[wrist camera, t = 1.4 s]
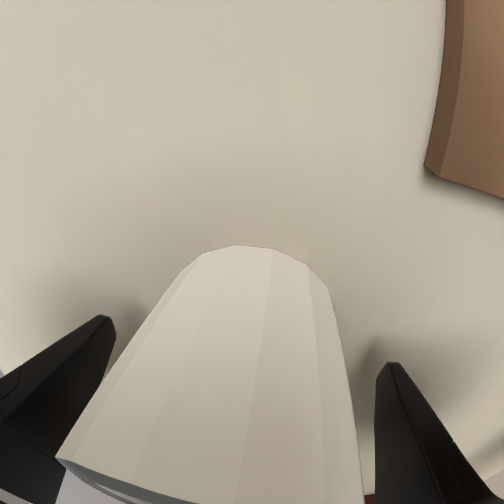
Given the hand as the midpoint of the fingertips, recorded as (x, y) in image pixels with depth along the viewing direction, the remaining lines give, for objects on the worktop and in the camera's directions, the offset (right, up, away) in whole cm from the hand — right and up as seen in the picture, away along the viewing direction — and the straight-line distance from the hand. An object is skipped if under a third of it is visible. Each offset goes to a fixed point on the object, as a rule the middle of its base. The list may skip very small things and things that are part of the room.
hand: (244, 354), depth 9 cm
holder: (+13, +11, -7) cm, 19 cm away
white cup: (0, +1, +2) cm, 2 cm away
